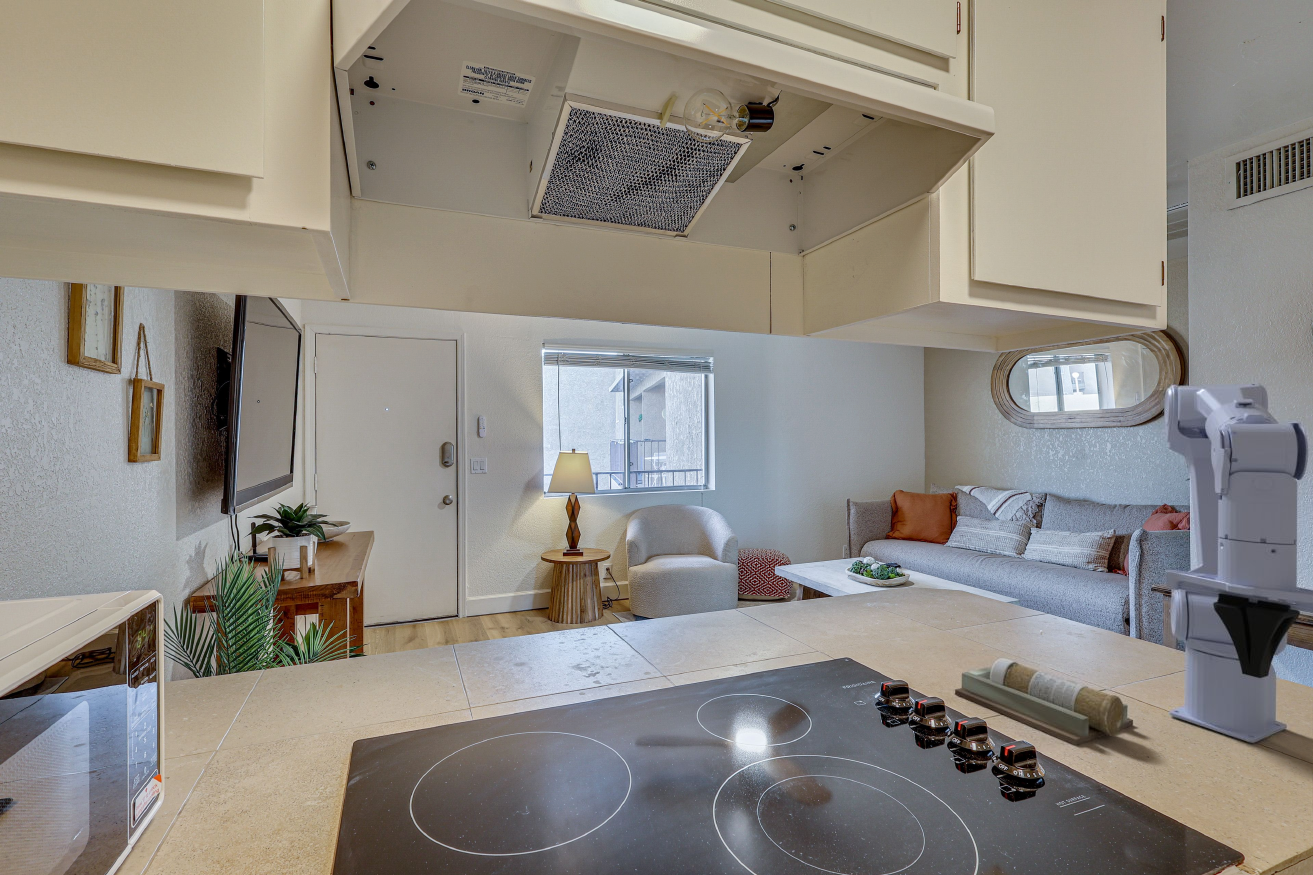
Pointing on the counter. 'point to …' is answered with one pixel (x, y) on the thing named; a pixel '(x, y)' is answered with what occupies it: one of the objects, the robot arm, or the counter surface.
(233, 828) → the counter surface
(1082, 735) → the bottle rest
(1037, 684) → the sprinkles bottle
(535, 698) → the counter surface
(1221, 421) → the robot arm
